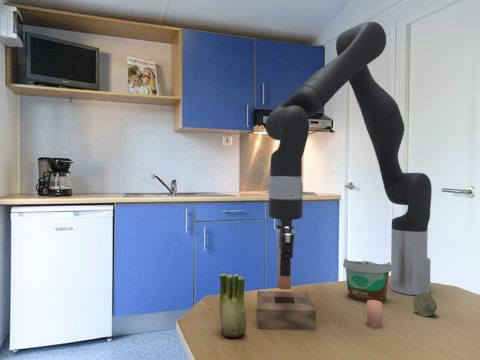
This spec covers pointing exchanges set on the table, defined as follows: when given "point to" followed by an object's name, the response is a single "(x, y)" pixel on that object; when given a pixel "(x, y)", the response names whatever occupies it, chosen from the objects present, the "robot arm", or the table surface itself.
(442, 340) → the table surface
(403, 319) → the table surface
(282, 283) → the long dowel
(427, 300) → the lime
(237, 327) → the fennel bulb
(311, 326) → the walnut block
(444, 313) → the table surface
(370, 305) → the short dowel
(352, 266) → the food container
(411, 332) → the table surface
